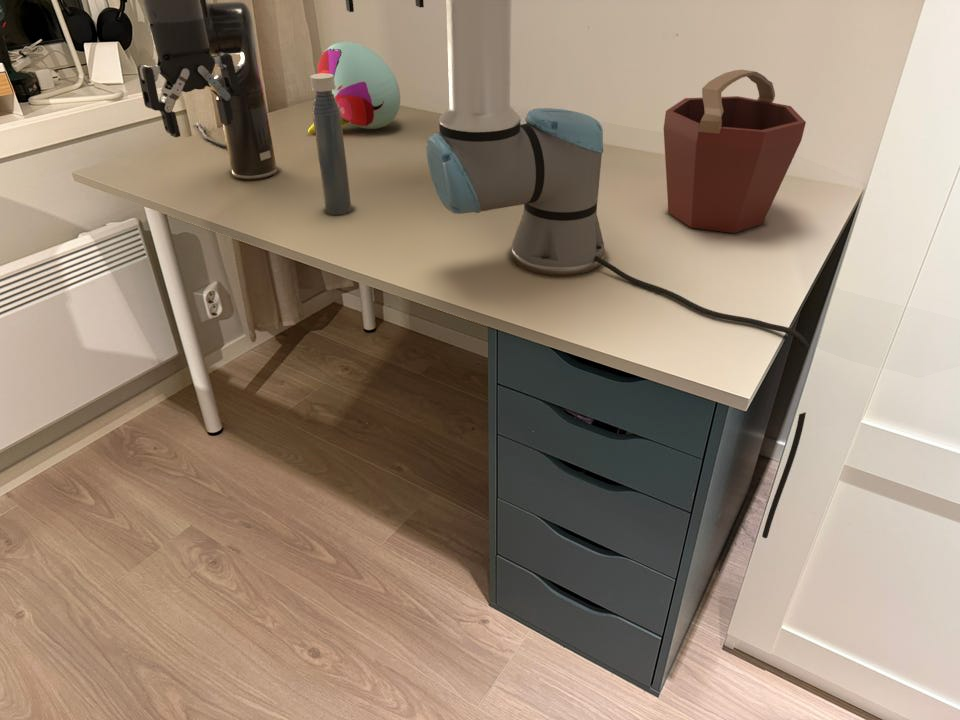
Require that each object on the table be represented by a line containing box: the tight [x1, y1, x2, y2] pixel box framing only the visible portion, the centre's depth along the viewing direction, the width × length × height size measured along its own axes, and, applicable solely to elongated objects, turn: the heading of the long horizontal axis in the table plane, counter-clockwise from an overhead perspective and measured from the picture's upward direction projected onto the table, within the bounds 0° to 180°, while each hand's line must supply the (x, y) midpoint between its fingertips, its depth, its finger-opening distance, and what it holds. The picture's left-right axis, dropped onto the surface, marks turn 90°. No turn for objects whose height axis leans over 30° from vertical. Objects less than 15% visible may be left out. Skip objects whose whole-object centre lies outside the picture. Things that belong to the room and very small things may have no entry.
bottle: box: [311, 90, 352, 216], centre depth 128 cm, size 5×5×24 cm
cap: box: [309, 73, 335, 92], centre depth 122 cm, size 4×4×2 cm
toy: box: [307, 41, 401, 134], centre depth 176 cm, size 24×24×20 cm
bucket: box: [663, 69, 807, 234], centre depth 125 cm, size 24×22×25 cm
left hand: (201, 130), depth 110 cm, fingers open, 8 cm apart
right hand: (385, 9), depth 134 cm, fingers open, 13 cm apart
